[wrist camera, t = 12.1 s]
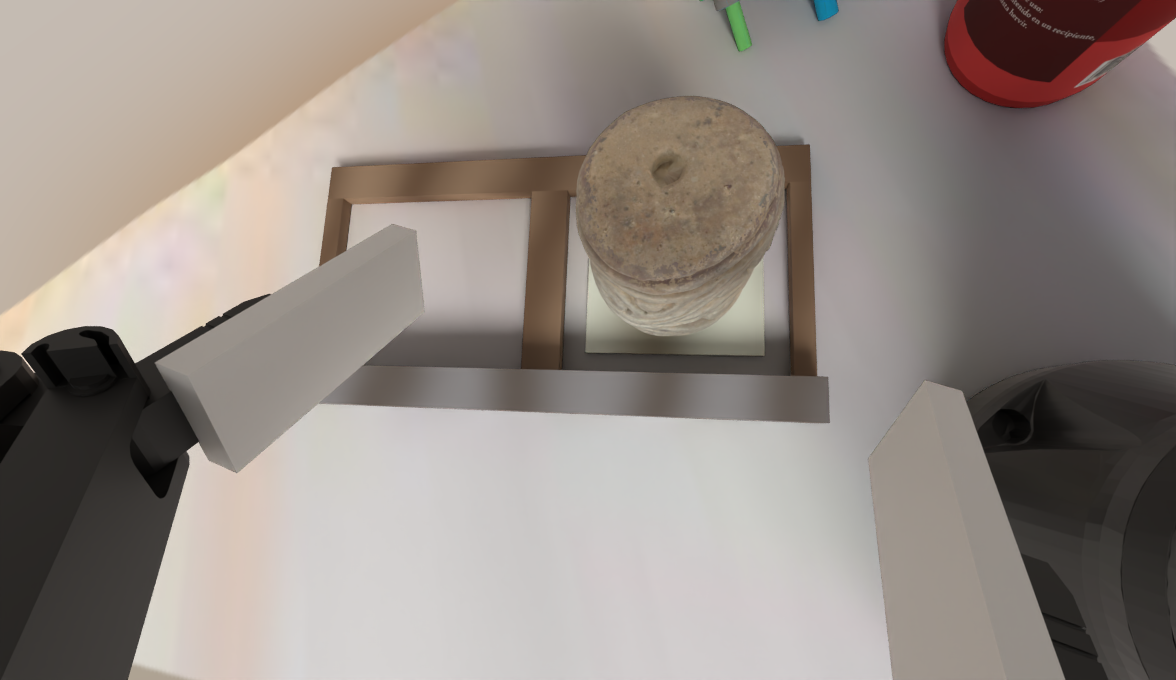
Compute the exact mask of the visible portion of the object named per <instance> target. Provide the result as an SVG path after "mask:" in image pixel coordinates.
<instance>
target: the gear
mask: <svg viewBox="0 0 1176 680" xmlns="http://www.w3.org/2000/svg"><path fill="white" fill-rule="evenodd" d="M700 1H703V0H700ZM713 2H714V5H715V8H716V11H720V10H722V9H726V12H727V15H728V18H729V22H730V25H731V28H732V31H733V34H734V38H735V41H736V44H737V47H738V50H739V51H743V50H745V49H747V48H749V47H750V46H751V45H752V43H751V39H750V36H749V32H748V29H747V26H746V22H745V19H744V16H743V12H742V9H741V5H740V2H739V0H713ZM814 4H815V8H816V13H817V17H818V21H821V20H825V19H827V18H829V17H831V16H833V15H835V14H836V13H837V12H838V6H837V1H836V0H814Z"/></svg>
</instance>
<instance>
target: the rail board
mask: <svg viewBox="0 0 1176 680" xmlns="http://www.w3.org/2000/svg"><path fill="white" fill-rule="evenodd" d="M776 147H777V149H778V151H779V154H780V157H781V161H782V166H783V169H784V178H785V183H784V189H787V231H788V274H789V317H790V361H791V376H778V375H737V374H697V373H656V372H616V371H575V370H562V357H563V336H564V316H565V296H566V276H567V256H568V235H569V215H570V197H575V196H577V192H576V191H577V180H578V175H579V171H580V169H581V166H582V164H583V162H584V160H585V157H586V155H581V156H560V157H540V158H519V159H498V160H478V161H457V162H436V163H415V164H395V165H374V166H353V167H333V168H332V172H331V180H330V188H329V195H328V203H327V210H326V218H325V226H324V233H323V241H322V249H321V256H320V264H319V266H321V265H323V264H324V263H326V262H328V261H330V260H331V259H333V258H335V257H336V256H338V255H340V254H342V253H343V252H345V251H346V247H347V238H348V230H349V222H350V214H351V206H352V204H372V203H401V202H430V201H459V200H488V199H517V198H532V199H531V215H530V231H529V247H528V263H527V279H526V295H525V311H524V327H523V343H522V359H521V369H494V368H454V367H413V366H373V365H363V366H361V367H360V368H359V369H358V370H357V371H356V372H354V373H353V374H352V375H351V376H350V377H349V378H347V379H346V380H345V381H344V382H343V383H342V384H340V385H339V386H338V387H337V388H336V389H335V390H333V391H332V392H331V393H330V394H329V395H328V396H326V397H325V398H324V399H323V400H322V401H321V402H319V403H318V404H341V405H367V406H392V407H418V408H443V409H468V410H494V411H519V412H545V413H570V414H595V415H621V416H646V417H671V418H697V419H722V420H748V421H773V422H798V423H830V415H829V387H828V377H818V376H817V356H816V325H815V293H814V261H813V229H812V197H811V165H810V144H809V145H788V146H776ZM585 353H623V354H677V355H731V356H765V344H764V277H763V258H762V260H761V261H760V262H759V264H758V265H757V266H756V267H755V268H754V270H753V272H752V274H751V276H750V278H749V280H748V281H747V283H746V285H745V287H744V288H743V289H742V292H741V294H740V296H739V297H738V299H737V301H736V302H735V303H734V305H733V306H732V307H731V309H730V310H729V311H728V312H727V313H726V314H725V315H724V316H722V317H721V318H720V319H719V320H718V321H717V322H715V323H714V324H712V325H711V326H709V327H707V328H705V329H703V330H700V331H698V332H695V333H692V334H689V335H684V336H655V335H650V334H647V333H644V332H642V331H640V330H638V329H636V328H634V327H633V326H631V325H629V324H628V323H626V322H625V321H623V320H622V319H621V318H619V317H618V316H617V315H616V314H615V313H614V312H613V311H612V310H611V309H610V308H609V307H608V306H607V304H606V303H605V301H604V299H603V298H602V296H601V294H600V292H599V290H598V288H597V285H596V283H595V280H594V277H593V273H592V269H591V265H590V259H589V275H588V298H587V322H586V346H585Z"/></svg>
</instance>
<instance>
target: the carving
mask: <svg viewBox="0 0 1176 680" xmlns="http://www.w3.org/2000/svg"><path fill="white" fill-rule="evenodd" d="M784 183H785V178H784V169H783V166H782V161H781V157H780V154H779V151H778V149H777V147H776V145H775V143H774V141H773V139H772V138H771V136H770V135H769V134H768V133H767V132H766V130H765V129H764V128H763V126H762V125H761V124H760V123H759V122H758V121H756V120H755V119H754V118H752V117H751V116H750V115H748V114H747V113H745V112H744V111H743V110H741V109H739V108H738V107H736V106H734V105H732V104H729V103H726V102H723V101H720V100H716V99H712V98H706V97H699V96H680V97H672V98H666V99H661V100H656V101H652V102H649V103H646V104H643V105H641V106H638V107H636V108H633V109H631V110H629V111H626V112H625V113H624V114H622V115H621V116H619V117H618V118H617V119H616V120H615V121H614V122H613V123H611V124H610V125H609V126H608V127H607V128H606V129H605V130H604V131H603V132H602V133H601V134H600V135H599V137H598V138H597V139H596V140H595V142H594V143H593V145H592V146H591V147H590V149H589V151H588V153H587V155H586V157H585V160H584V162H583V164H582V166H581V169H580V171H579V175H578V180H577V191H576V192H577V197H576V220H577V228H578V233H579V236H580V239H581V241H582V244H583V246H584V249H585V251H586V253H587V255H588V257H589V259H590V265H591V269H592V273H593V277H594V280H595V283H596V285H597V288H598V290H599V292H600V294H601V296H602V298H603V299H604V301H605V303H606V304H607V306H608V307H609V308H610V309H611V310H612V311H613V312H614V313H615V314H616V315H617V316H618V317H619V318H621V319H622V320H623V321H625V322H626V323H628V324H629V325H631V326H633V327H634V328H636V329H638V330H640V331H642V332H644V333H647V334H650V335H655V336H684V335H689V334H692V333H695V332H698V331H700V330H703V329H705V328H707V327H709V326H711V325H712V324H714V323H715V322H717V321H718V320H719V319H720V318H721V317H722V316H724V315H725V314H726V313H727V312H728V311H729V310H730V309H731V307H732V306H733V305H734V303H735V302H736V301H737V299H738V297H739V296H740V294H741V292H742V289H743V288H744V287H745V285H746V283H747V281H748V280H749V278H750V276H751V274H752V272H753V270H754V268H755V267H756V266H757V265H758V264H759V262H760V261H761V260H762V258H763V256H764V254H765V252H766V251H768V250H769V248H770V246H771V243H772V240H773V237H774V234H775V231H776V230H777V228H778V224H779V220H780V217H781V214H782V211H783V208H784V203H785V193H784Z"/></svg>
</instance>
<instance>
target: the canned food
mask: <svg viewBox="0 0 1176 680" xmlns="http://www.w3.org/2000/svg"><path fill="white" fill-rule="evenodd" d="M1175 18H1176V0H957V2H956V4H955V6H954V8H953V11H952V13H951V15H950V19H949V23H948V26H947V31H946V35H945V39H944V44H945V56H946V60H947V64H948V66H949V68H950V70H951V72H952V74H953V76H954V77H955V78H956V79H957V80H958V82H959V83H960V84H961V85H962V86H963V87H964V88H965V89H967V90H968V91H969V92H970V93H972V94H973V95H975V96H977V97H979V98H981V99H983V100H984V101H986V102H990V103H993V104H996V105H1000V106H1005V107H1013V108H1030V107H1038V106H1043V105H1047V104H1051V103H1053V102H1056V101H1059V100H1061V99H1064V98H1066V97H1069V96H1071V95H1073V94H1076V93H1078V92H1080V91H1082V90H1083V89H1085V88H1087V87H1088V86H1090V85H1092V84H1093V83H1095V82H1096V81H1097V80H1099V79H1100V78H1101V77H1102V76H1104V75H1105V74H1106V73H1107V72H1109V71H1110V70H1111V69H1112V68H1114V67H1115V66H1116V65H1117V64H1119V63H1120V62H1121V61H1122V60H1124V59H1125V58H1126V57H1127V56H1129V55H1130V54H1131V53H1132V52H1134V51H1135V50H1136V49H1137V48H1139V47H1140V46H1141V45H1142V44H1144V43H1145V42H1146V41H1147V40H1149V39H1150V38H1151V37H1152V36H1154V35H1155V34H1156V33H1157V32H1158V31H1160V30H1161V29H1162V28H1164V27H1165V26H1166V25H1167V24H1169V23H1170V22H1171V21H1172V20H1174V19H1175Z"/></svg>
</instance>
